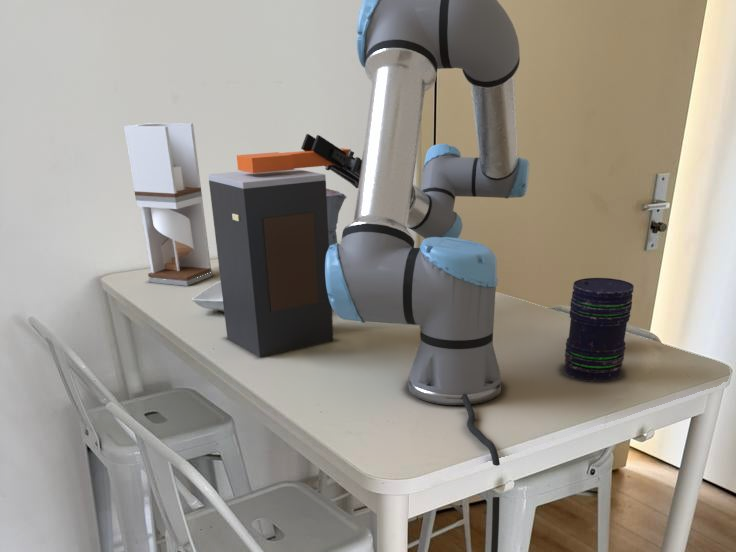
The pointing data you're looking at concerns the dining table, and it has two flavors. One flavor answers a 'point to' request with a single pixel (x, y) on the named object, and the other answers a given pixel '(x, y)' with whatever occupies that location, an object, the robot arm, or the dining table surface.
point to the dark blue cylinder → (597, 328)
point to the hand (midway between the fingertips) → (310, 142)
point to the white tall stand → (169, 201)
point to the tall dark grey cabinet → (273, 258)
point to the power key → (281, 161)
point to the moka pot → (333, 213)
